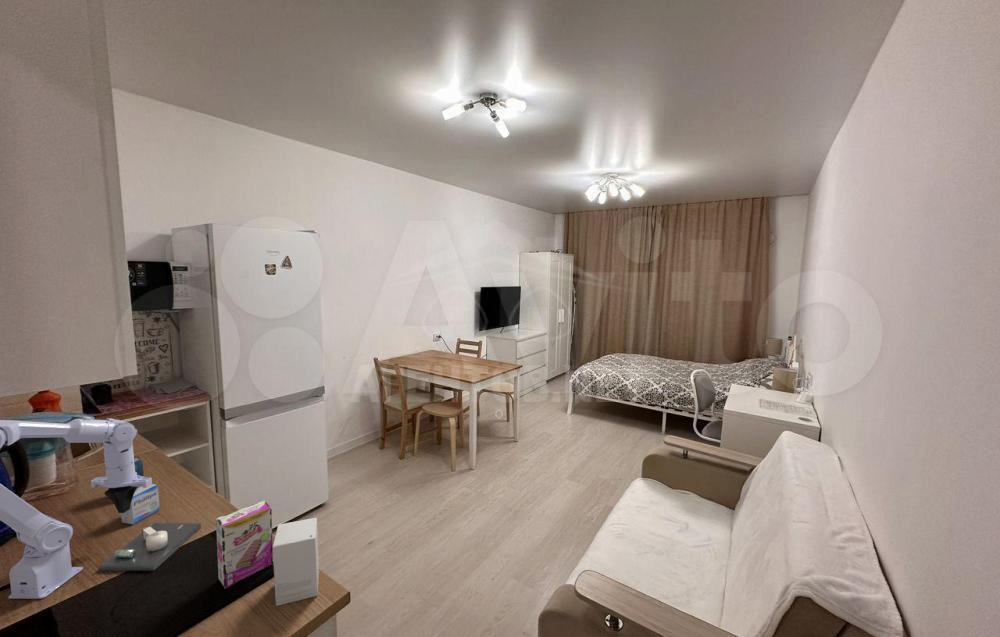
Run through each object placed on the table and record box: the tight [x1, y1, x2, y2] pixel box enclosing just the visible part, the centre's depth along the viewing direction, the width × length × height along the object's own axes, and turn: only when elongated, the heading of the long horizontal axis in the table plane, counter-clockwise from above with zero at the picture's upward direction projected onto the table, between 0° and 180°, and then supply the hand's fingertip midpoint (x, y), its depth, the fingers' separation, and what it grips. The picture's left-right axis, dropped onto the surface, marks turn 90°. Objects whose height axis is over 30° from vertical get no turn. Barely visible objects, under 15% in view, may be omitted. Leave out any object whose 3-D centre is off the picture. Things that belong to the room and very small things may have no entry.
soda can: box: [134, 455, 145, 488], centre depth 135 cm, size 7×7×12 cm
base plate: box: [99, 522, 202, 572], centre depth 111 cm, size 17×13×3 cm
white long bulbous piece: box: [140, 525, 168, 551], centre depth 110 cm, size 9×4×3 cm, turn 60°
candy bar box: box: [215, 500, 274, 590], centre depth 102 cm, size 11×5×16 cm, turn 141°
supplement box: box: [272, 517, 320, 607], centre depth 98 cm, size 9×9×15 cm
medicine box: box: [120, 483, 160, 525], centre depth 124 cm, size 8×4×9 cm, turn 168°
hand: (124, 510), depth 111 cm, fingers closed
